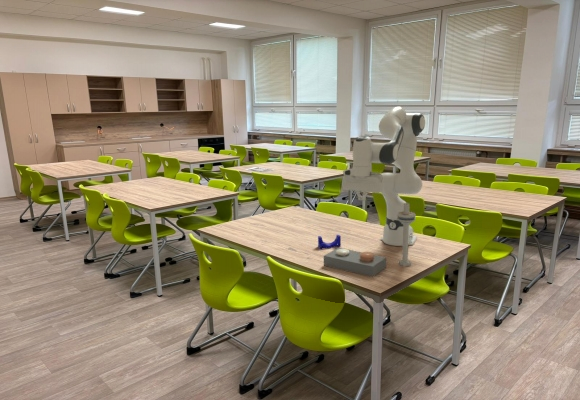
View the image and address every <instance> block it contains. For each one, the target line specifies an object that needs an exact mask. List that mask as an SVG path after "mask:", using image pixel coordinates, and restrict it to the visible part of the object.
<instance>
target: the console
mask: <svg viewBox="0 0 580 400" xmlns="http://www.w3.org/2000/svg"><path fill="white" fill-rule="evenodd" d="M339 249H343V248H342V247H337V248H336V249H334V250H331V251H330V252H327V253H326V254H324V255H323V266H325V267H328V268H333V269H337V270H342V271H346V272H350V273H354V274H359V275H363V276H367V277H370V278H371V277H372V278H374V277H375V276H376V275H378V274H379V273H381V272H382V271H383V270H384V269H386V268H387V256H381V255H376V254H374V259H373V260H372V261H370V262H367V261H363V260H360V253H362V252H361V251H356V250H351V249H347V248H345V249H346V250H349V255H347V256H345V257H344V256H339V255H336V250H339Z"/></svg>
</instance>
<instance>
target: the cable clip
mask: <svg viewBox="0 0 580 400" xmlns="http://www.w3.org/2000/svg"><path fill="white" fill-rule="evenodd" d="M341 239H342V237H341V235H340V234H336V237H335V239H334V240H332V241H331V242H325V241H324V240H323V237H322V235H321V236H320V235H319V236H317V243H318V244H317V246H318V248H319V250H323V249H322V248H325V249H331V248H336V247H337V248H340V247H341V246H342V245H341V244H342V243H341V242H342V241H341Z"/></svg>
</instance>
